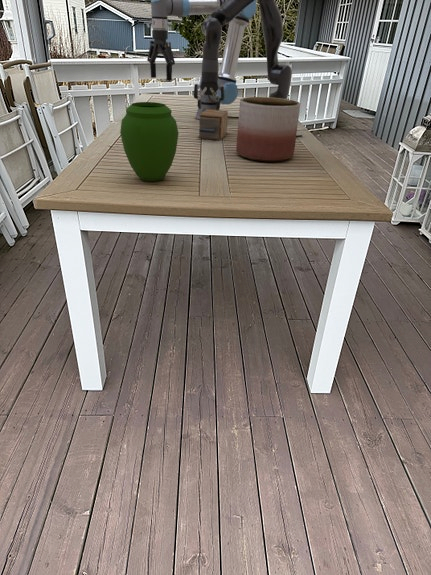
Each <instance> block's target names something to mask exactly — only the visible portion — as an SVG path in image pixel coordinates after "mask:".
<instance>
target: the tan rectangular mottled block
mask: <svg viewBox="0 0 431 575" xmlns="http://www.w3.org/2000/svg"><path fill="white" fill-rule="evenodd" d="M228 116H229V111H228V110H223V109H222V110H221V109H219V110H210V109H207V110H205V111H204V112H203V113H201V114H200V117H213V118H220V131H219V139H215V138H204V137H199V136H198V139H205V140H216V141H217V140H219V141H221V140H222V139H223V138H224V137H225V136H226V135H227V133H228V119H229V118H228ZM198 123H199V124H198V126H199V127H200V121H199V122H198ZM199 127H198V128H199Z"/></svg>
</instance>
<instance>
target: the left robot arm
mask: <svg viewBox="0 0 431 575" xmlns="http://www.w3.org/2000/svg"><path fill="white" fill-rule="evenodd" d="M226 1H227V0H150V8H151V10H150V11H151V12H150V13H151V28H152V31H151V38H152V40H150V41H149V49H148V55H147V59H146V61H147V62H148V63H149V66H150V67H149V70H150V78H151V79H153V78H154V79H156V78H157V63H156V60H157V58H158V55H159V54H160V53H161V54H162V56H163V58H164V60H165V63H166V65H165V69H166V70H165V74H166V75H165V77H166V81H167V82H169V81H171V82H172V81H173V66H174V65H175V64H176V61H175V57H174V54H173V50H172V46H171V45H172V43H171V42H170V41H167V40H168V39H169V31H168V29H169V23H168V20H169V19H168V17H181V18H183V17H188V16H195V15H196V16H197V15H198V16H199V15H211V14H212V13H213V12H215V11H216V10H217V9H219V8H220V7H221V6H222V5H223V4H224V3H225V2H226ZM256 12H257V0H255V1H253V2H252V3H251V4H250V5H248V6H247V7H246V8H245V9H244V10H243V11H242V12H240V13H239V14H238V15H237V16H236V17H235V18H234V19H233V20H232V21H231V22H229V23H228V29H227V33H226V39H225V44H224V49H223V55H222V58H221V64H220V69H219V72H218V86H224V87H225V88H224V100H223V101H220V105H231V104H232V103H235V101H236V99H237V98H238V95H239V88H238V85H237V79H236V73H237V66H238V62H239V57H240V53H241V48H242V45H243V44H242V43H243V38H244V34H245V29H246V27H248V26H249V23H250V20H251V19H252V18H253V17H254V16H255V14H256ZM199 85H201V78H200V79H199ZM201 92H202V89H201V88H199V95H200V94H201ZM216 92H217V94H218V96H219V97H220V98H221V91H220V90H219V89H218V90H217V91H216ZM216 102H217V100H216V98H215V97H214V95H212V96H210V95H205V94H204V96H203V97H202V98H201V109H199V107H198V106H197V111H196V114H195V119H196V120H199V121H200V114H201V113H203V112H204V111H205V110H207V109H210V110H216ZM218 110H220V109H218ZM227 119H239V116H231V115H228V118H227Z"/></svg>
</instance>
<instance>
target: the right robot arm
mask: <svg viewBox="0 0 431 575" xmlns="http://www.w3.org/2000/svg"><path fill="white" fill-rule="evenodd" d="M253 1H255V0H227V1H226V2H225V3H224V4H223V5H222V6H221V7H220V8H219V9H217V10H216V11H215V12H213V13H212V14H208V16H207V17H205V19H204V20H203V21H202V23H201V27H200V28H201V32H202V35H204V36H205V43H204V44H203V46H202V59H201V77H200V79H201V85H199V84H200V83H199V84H198V83H194V85H193V86H194V87H193V99H196V100H197V108H198V107H199V109H201V98H202V97H203V96H204V94H205V95H210V96H212V95H214V97H215V98H216V100H217V102H216V110H218V109H219V110H221V109H220V108H221V103H220V101H223V100H224V88H225V87H224V86H218V74H219V71H220V69H219V53H220V52H219V49H220V43H221V39H222V33H223V32H222V31H223V27H224V26H225V25H227V24H229V22H231V21H232V20H233V19H234V18H235V17H236V16H237V15H238V14H239V13H240V12H242V11H243V10H244V9H245V8H246V7H247V6H248V5H250V4H251V3H252V2H253ZM258 7H259V13H260V20H261V28H262V35H263V40H264V46H265V55H266V56H265V57H266V71H267V72H266V73H267V79H268V82H269V84H271V85H274V86H277V89H276V90H275V91H273V92H270V93H269V95H268V97H272V98H282V99H288V97H289V94H290V89H291V84H292V79H293V78H292V76H293V70H292V67H291V66H290V65H288V64H280V63H279V55H278V54H279V49H280V46H281V44H282V41H283V39H284V26H283V18H282V15H281V11H280V9H279V7H278V5H277V3H276V0H258ZM200 88H201V89H202V92H201V94H200V93H199V90H200ZM218 89H219V90H220V91H221V98H220V97H219V96H218V94H217V92H216V91H217V90H218ZM198 93H199V94H198ZM302 137H303V134H299V135H297V134H296V138H302Z"/></svg>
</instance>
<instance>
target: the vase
mask: <svg viewBox="0 0 431 575" xmlns="http://www.w3.org/2000/svg"><path fill="white" fill-rule="evenodd" d="M125 113H126V114H125V115H124V117H122V119H121V122H120V123H121V124H120V130H119V133H120V138H121V142H122V147H123V150H124V154H125V155H126V158H127V160H128V163H129V165H130V167H131V168H132V170H133V172H134V173H135V175H136V176H137V177H138V178H139V179H141V180H143V181H145V182H159V181H161V180H163V179H164V178H165V176H166V175H167V174H168V173H169V170H170V169H171V167H172V165H173V162H174V159H175V157H176V156H175V155H176V153H177V147H178V140H179V129H178V122H177V120H176V119H175V117H174V116H173V115H172V109H171V108H170V107H169V106H167V105H166V104H164V103H162V102H155V101H138V102H132V103H131V104H130V105H128V107H127V108H125Z"/></svg>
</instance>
